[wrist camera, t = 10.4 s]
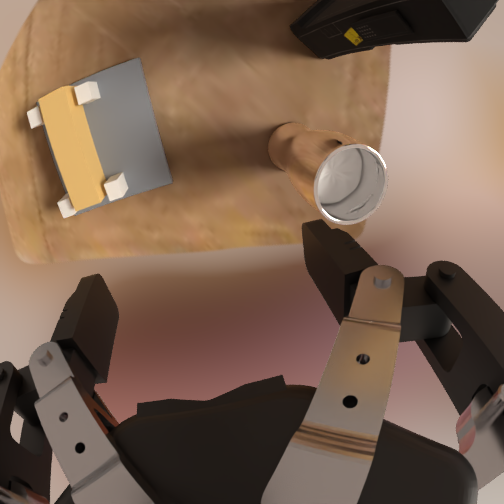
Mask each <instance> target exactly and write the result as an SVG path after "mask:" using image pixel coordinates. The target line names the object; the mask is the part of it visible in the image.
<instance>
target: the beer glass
mask: <svg viewBox="0 0 504 504" xmlns="http://www.w3.org/2000/svg"><path fill="white" fill-rule="evenodd" d="M268 153H269V157H270V159H271V161H272V162H273V163H274V164H275V165H276V166H277V167H278V168H280V169H281V170H284V171H286V173H287V175H288V177H289V179H290V181H291V183H292V185H293V187H294V188H295V190H296V191H297V192H298V193H299V194H300V196H301V197H302V198H303V199H304V200H305V201H306V202H307V203H309V204H310V205H311V206H312V207H313V208H315V209H316V210H317V211H318V212H320V213H321V214H322V215H323V216H324V217H325V218H327V219H328V220H330V221H331V222H334V223H336V224H341V225H351V224H355V223H358V222H361V221H363V220H365V219H366V218H368V217H369V216H371V215H372V214H373V213H374V212H375V211H376V210H377V209H378V207H379V206H380V204H381V203H382V201H383V199H384V197H385V194H386V190H387V186H388V172H387V168H386V165H385V162H384V161H383V159H382V157H381V156H380V155H379V153H378V152H376V151H375V150H374V149H373V148H371V147H369V146H367V145H365V144H363V143H361V142H359V141H358V140H356V139H354V138H352V137H350V136H347V135H345V134H342V133H339V132H335V131H330V130H310V129H309V128H308V127H306V126H305V125H303V124H300V123H287V124H284V125H282V126H280V127H278V128H277V129H276V130H275V131H274V132H273V134H272V135H271V137H270V139H269V143H268Z"/></svg>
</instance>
